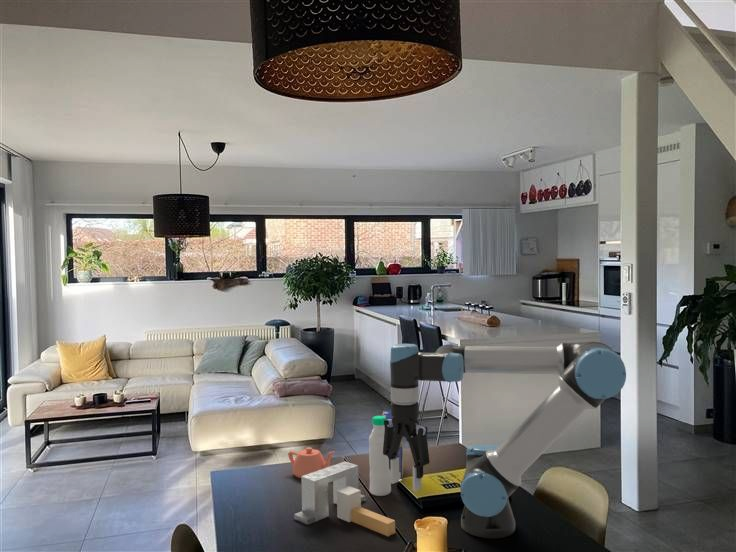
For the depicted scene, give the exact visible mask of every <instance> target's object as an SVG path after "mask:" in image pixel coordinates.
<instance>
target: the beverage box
mask: <svg viewBox="0 0 736 552" xmlns="http://www.w3.org/2000/svg"><path fill="white" fill-rule="evenodd" d="M381 416H384V417H386V420H387V419H392V418H393V417H392V415H391V409H390V410H389V409H388V410H386V409H385V410H383V411H382V414H381ZM394 429H395V428H394ZM403 440H404V436H403V437H402V440H401V443H400V446H399V450H398V453H397V454H398V456H396V457H398V458H399V479H402V480H403V478H402V477H404V476H403V475H404V450H403V449H404V441H403ZM396 457H395V458H396ZM390 472H391V470H390ZM390 482H391V480H390Z"/></svg>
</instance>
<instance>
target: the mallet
mask: <svg viewBox="0 0 736 552" xmlns="http://www.w3.org/2000/svg"><path fill="white" fill-rule="evenodd" d="M361 494H362V492H361V489H356V488H353V487H350V486H348V487H345V488H343V489H340V490H338V491H337V504H336V510H337V511H336V512H337V513H336V514H337V518H338V519H341V520H342V521H345V522H348V523H351V522H352V523H354V524H357V525H360V526H362V527H364V528H366V529H369V530H371V531H374V532H377V533H379V534H381V535H383V536H386V537H390V536H391V535H394V534H396V520H395V519H392V518H389V517H387V516H385V515H382V514H379V513H377V512H375V511H372V510H369V509H366V508H364V507H362V502H361Z"/></svg>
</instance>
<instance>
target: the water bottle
mask: <svg viewBox="0 0 736 552" xmlns="http://www.w3.org/2000/svg"><path fill="white" fill-rule="evenodd" d="M384 420H386V417H384V416H382V415H375V416H373V417H372V418H371V424H372V426H373V428H372V430H371V433H370V434H369V437H368V443H369V446H368V447H369V450H368V460H369V462H368V463H369V464H368V465H369V492H370V493H371V495H373V496H376V497H384V496H388V495H389V494H391V492H392V486H391V485H392V483H391V482H390V480H391V472H390V469H389V458H388V456H386V455H384V454H383V444H384V432H385V427H384ZM387 450H388V449H387Z"/></svg>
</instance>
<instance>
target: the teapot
mask: <svg viewBox="0 0 736 552" xmlns="http://www.w3.org/2000/svg"><path fill="white" fill-rule="evenodd" d="M335 452H336V451H334V450H333V451H329V452H328V453H327V456H326V460H325V458H324V456H323V454H322V452H321V451H320V450H318V449H315V448H314V449H313V447H311V446H310V447H308V446H307V447H306V448H305V449H302V450H300V451H298V452H296V451H293V450H290V451H288V453H287V457H288V459H289V461H290V463H291V464H292V473H293V476H295V477H296V478H297V477H298V478H297V479H300V478H301V476H304V475H307V474H310V473H312V472H315V471H318V470H321V469H324V468H327V467H330V466H331V465H330V464H331V459H332V455H333V454H335ZM293 455H295V459H294V457H293Z"/></svg>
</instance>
